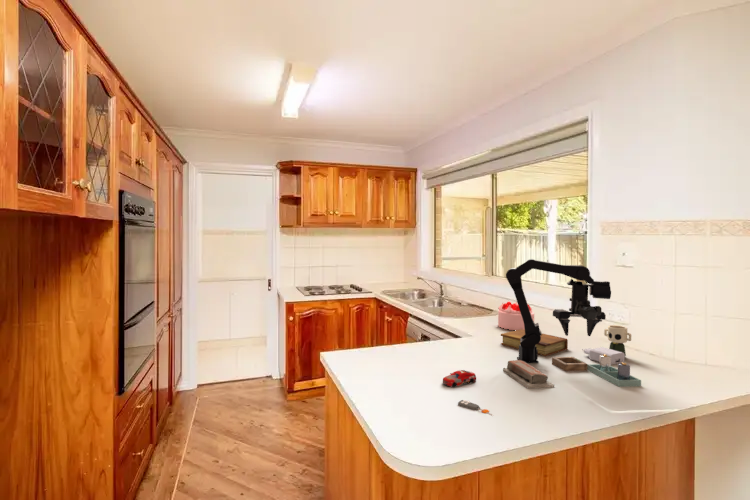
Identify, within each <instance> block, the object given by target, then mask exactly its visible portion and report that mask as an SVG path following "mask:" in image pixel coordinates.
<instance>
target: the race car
mask: <svg viewBox="0 0 750 500" xmlns="http://www.w3.org/2000/svg"><path fill="white" fill-rule="evenodd" d="M476 381H477V376H476V373H474V372H472V371H470V370H465V369H463V370H462V369H459V370H456V371H453V372H451V373H449V375H446V376H445V377H443V378H442V384H443V385H445V386H447V387H451V388H456V387H459V386H463V385H468V384H473V383H475V382H476Z"/></svg>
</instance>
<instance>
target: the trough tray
mask: <svg viewBox="0 0 750 500" xmlns="http://www.w3.org/2000/svg"><path fill="white" fill-rule="evenodd" d="M586 364H587V371H588V372H590V373H593V374H594V375H596V376H598V377H600V378H602V379H604V380H606V381H608V382H609V383H611V384H613V385H615V386H617V387H619V388H620V387H621V388H622V387H642V379H639V378H637V377H635V376H633V375H632V374H630V380H618V379H617V377H618V368H616V367H614V366H613V365H611V368H610V372H603V371H601V370H599V363H590V364H589V363H586Z"/></svg>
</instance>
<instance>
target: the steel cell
mask: <svg viewBox="0 0 750 500" xmlns="http://www.w3.org/2000/svg"><path fill="white" fill-rule="evenodd" d="M598 364H599V370H601V371H603V372H610V368H611V366H612V365H611V357H610V356H607V355H606V354H603V355H600V357H599V362H598Z"/></svg>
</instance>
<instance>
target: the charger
mask: <svg viewBox="0 0 750 500" xmlns="http://www.w3.org/2000/svg"><path fill="white" fill-rule="evenodd" d="M581 350H582V352H583V353H584V354H586V355H588V358H589V360H591V361H594V362H597V363H599V357H600V355H603V354H606V355H607V356H610V357H611V366H613V365H618V363H622V362H623V363H625V357H626V356H625V354H624V353H623V352H619V351H615V350H611V349H609V348H607V347H603V346H600V347H595V348H591V347H590V348H582V349H581Z"/></svg>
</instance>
